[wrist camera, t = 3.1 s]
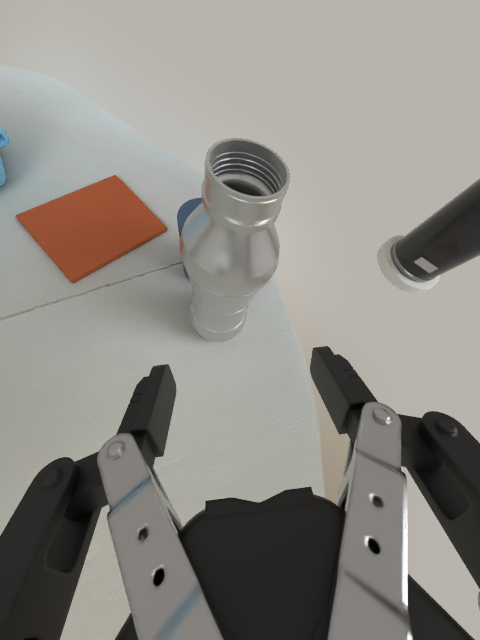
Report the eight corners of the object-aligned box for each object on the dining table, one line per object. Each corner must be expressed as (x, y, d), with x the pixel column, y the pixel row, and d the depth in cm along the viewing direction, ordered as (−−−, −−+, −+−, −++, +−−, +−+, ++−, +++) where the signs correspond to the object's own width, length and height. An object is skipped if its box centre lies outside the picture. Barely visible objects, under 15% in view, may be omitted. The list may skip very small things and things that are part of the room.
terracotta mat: (117, 178, 32) (115, 174, 32) (167, 230, 31) (167, 227, 30) (18, 219, 27) (14, 215, 27) (73, 283, 26) (70, 281, 25)
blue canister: (205, 245, 31) (208, 190, 23) (231, 271, 30) (244, 224, 22) (175, 264, 29) (165, 212, 21) (202, 293, 28) (202, 251, 20)
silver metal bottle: (229, 354, 26) (300, 257, 8) (180, 331, 26) (132, 176, 8) (249, 311, 29) (338, 159, 10) (203, 290, 29) (211, 97, 10)
